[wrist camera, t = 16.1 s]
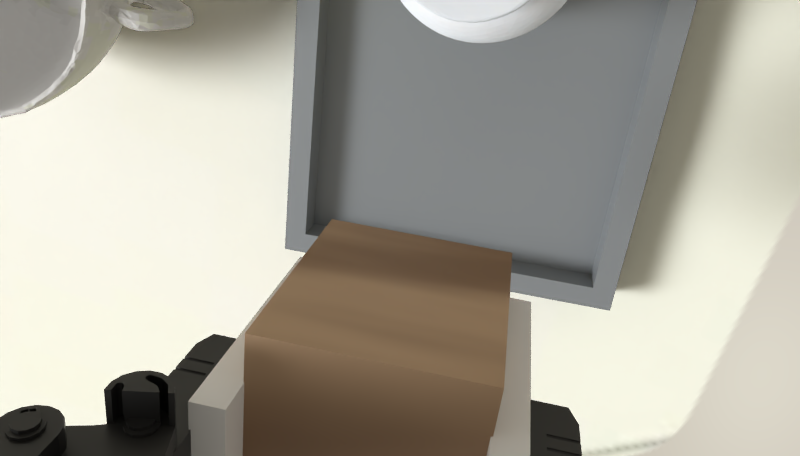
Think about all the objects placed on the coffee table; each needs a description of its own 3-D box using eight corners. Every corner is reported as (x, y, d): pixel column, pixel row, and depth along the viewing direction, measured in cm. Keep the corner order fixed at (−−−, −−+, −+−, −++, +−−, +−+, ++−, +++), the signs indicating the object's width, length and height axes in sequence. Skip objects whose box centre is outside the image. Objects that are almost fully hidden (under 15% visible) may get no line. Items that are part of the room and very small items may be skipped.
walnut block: (331, 218, 18) (245, 333, 12) (512, 252, 17) (504, 388, 12) (319, 367, 20) (239, 522, 14) (480, 402, 19) (460, 577, 14)
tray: (323, -213, 26) (308, -226, 25) (733, -174, 24) (749, -185, 22) (298, 233, 34) (285, 248, 32) (605, 290, 32) (609, 310, 30)
